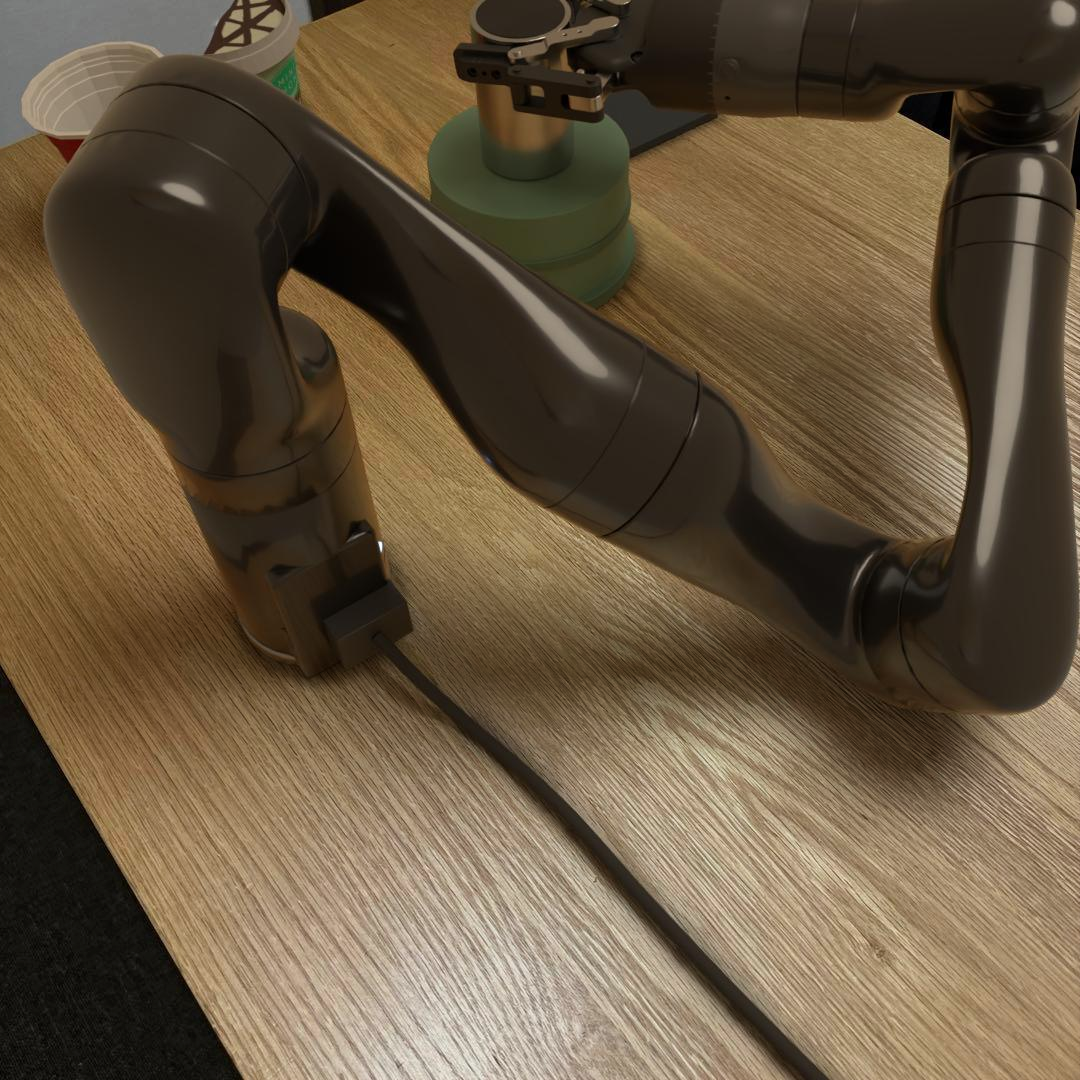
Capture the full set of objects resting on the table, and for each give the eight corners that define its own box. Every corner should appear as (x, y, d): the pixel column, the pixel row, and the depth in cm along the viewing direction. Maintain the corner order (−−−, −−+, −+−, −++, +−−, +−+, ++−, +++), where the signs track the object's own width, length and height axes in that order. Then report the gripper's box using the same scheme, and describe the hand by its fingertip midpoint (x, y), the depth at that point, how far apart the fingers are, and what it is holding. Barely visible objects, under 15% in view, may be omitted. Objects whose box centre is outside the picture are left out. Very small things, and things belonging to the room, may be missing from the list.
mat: (718, 116, 99) (718, 108, 98) (601, 171, 95) (601, 163, 94) (617, 42, 106) (617, 34, 105) (504, 90, 102) (504, 82, 102)
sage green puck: (676, 268, 88) (683, 165, 81) (504, 356, 83) (496, 255, 76) (558, 167, 96) (555, 64, 88) (395, 242, 91) (378, 140, 84)
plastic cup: (61, 202, 95) (0, 66, 86) (190, 160, 98) (146, 23, 88) (96, 282, 90) (35, 145, 80) (232, 235, 92) (190, 97, 82)
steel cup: (592, 157, 82) (592, 17, 74) (515, 192, 80) (505, 52, 72) (540, 114, 85) (533, -24, 77) (464, 147, 83) (449, 8, 75)
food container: (295, 176, 96) (268, 63, 88) (222, 171, 97) (189, 59, 89) (334, 88, 103) (312, -24, 95) (266, 84, 104) (239, -28, 96)
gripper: (703, 175, 70) (446, 147, 75) (759, 40, 78) (522, 23, 83) (701, 58, 64) (421, 37, 69) (762, -75, 72) (506, -86, 77)
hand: (477, 29), depth 76 cm, fingers closed on steel cup, 6 cm apart
